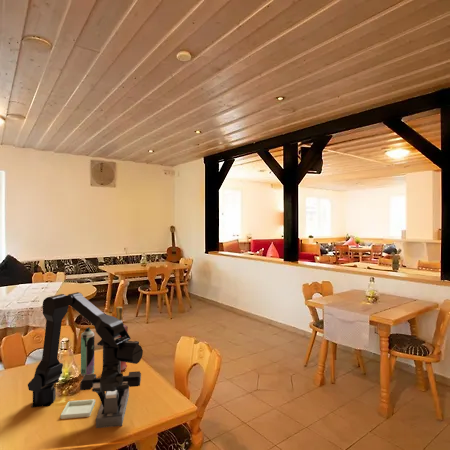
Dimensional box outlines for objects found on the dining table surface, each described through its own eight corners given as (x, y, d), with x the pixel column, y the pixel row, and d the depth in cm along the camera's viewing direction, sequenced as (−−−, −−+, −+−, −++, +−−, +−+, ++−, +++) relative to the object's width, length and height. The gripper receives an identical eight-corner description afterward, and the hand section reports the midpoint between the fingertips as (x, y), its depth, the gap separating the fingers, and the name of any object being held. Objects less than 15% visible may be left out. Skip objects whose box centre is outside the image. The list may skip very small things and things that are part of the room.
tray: (60, 420, 113) (60, 415, 113) (68, 406, 122) (68, 401, 122) (89, 417, 115) (89, 412, 115) (95, 403, 124) (95, 399, 124)
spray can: (93, 375, 148) (93, 329, 148) (80, 377, 146) (80, 330, 146) (94, 370, 153) (95, 325, 153) (81, 371, 151) (81, 326, 151)
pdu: (95, 429, 108) (95, 402, 108) (106, 398, 128) (106, 375, 128) (122, 427, 109) (122, 400, 109) (128, 396, 129) (128, 374, 129)
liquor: (107, 370, 153) (107, 307, 153) (120, 365, 159) (120, 304, 159) (117, 374, 148) (117, 310, 149) (130, 368, 154) (131, 306, 155)
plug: (104, 420, 111) (104, 396, 111) (106, 414, 115) (106, 390, 115) (116, 419, 112) (117, 395, 112) (118, 413, 116) (118, 389, 116)
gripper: (75, 371, 104) (75, 422, 104) (138, 367, 107) (138, 416, 107) (84, 357, 115) (84, 403, 115) (141, 354, 118) (141, 399, 118)
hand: (111, 406), depth 114 cm, fingers open, 4 cm apart
